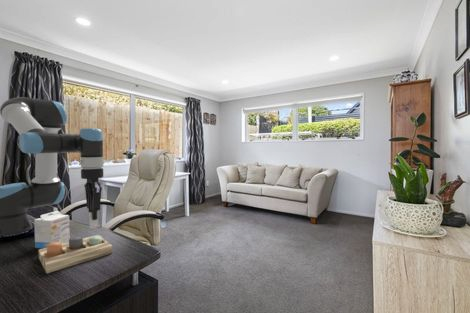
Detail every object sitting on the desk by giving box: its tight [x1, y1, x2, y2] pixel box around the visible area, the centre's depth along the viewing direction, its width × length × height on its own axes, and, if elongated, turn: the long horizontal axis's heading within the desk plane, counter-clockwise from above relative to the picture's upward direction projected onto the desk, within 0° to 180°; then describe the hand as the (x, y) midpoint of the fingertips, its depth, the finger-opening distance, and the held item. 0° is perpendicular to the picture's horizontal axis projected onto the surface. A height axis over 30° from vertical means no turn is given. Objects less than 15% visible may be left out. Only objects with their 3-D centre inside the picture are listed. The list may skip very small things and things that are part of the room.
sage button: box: [89, 235, 103, 247], centre depth 93 cm, size 4×4×3 cm
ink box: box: [33, 210, 71, 249], centre depth 98 cm, size 9×8×13 cm
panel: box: [38, 234, 113, 274], centre depth 88 cm, size 16×20×3 cm
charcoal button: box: [69, 236, 84, 250], centre depth 88 cm, size 4×4×3 cm
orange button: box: [47, 241, 62, 256], centre depth 83 cm, size 4×4×3 cm
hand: (93, 227), depth 92 cm, fingers closed
